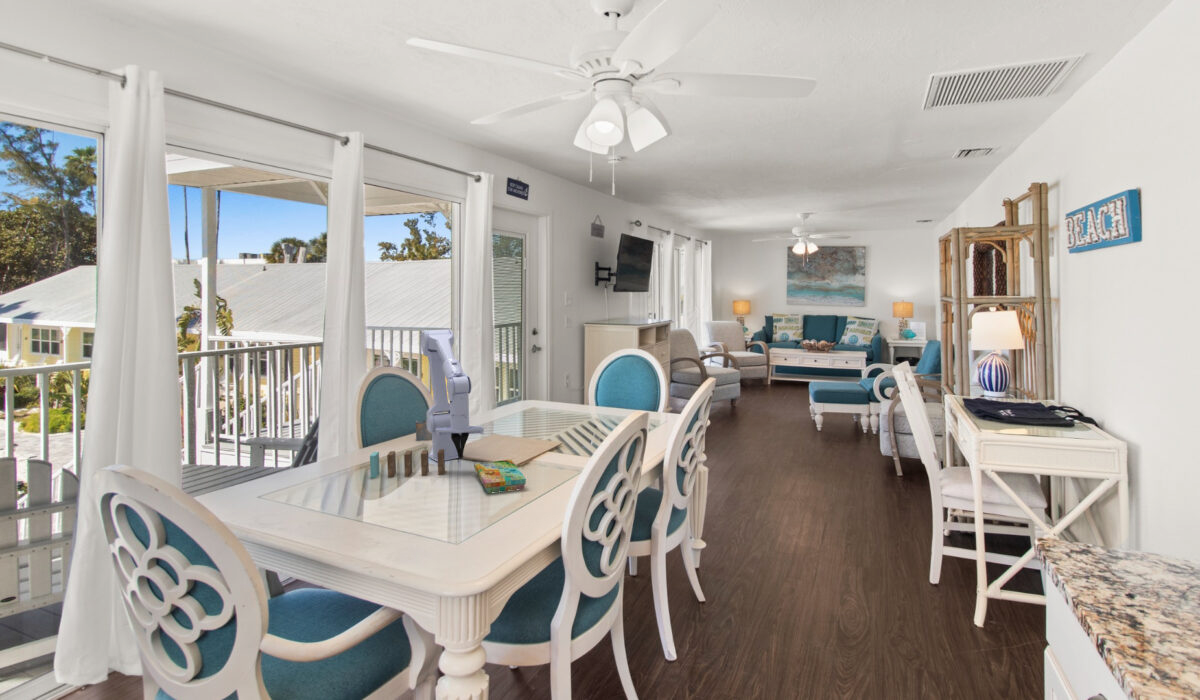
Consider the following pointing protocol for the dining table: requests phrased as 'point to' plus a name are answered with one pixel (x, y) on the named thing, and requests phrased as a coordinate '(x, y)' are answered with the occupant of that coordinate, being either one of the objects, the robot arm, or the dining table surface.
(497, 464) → the puzzle game
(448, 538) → the dining table surface
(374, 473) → the domino
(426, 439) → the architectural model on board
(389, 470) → the domino
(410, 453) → the domino
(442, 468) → the domino
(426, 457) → the domino
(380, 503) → the dining table surface
